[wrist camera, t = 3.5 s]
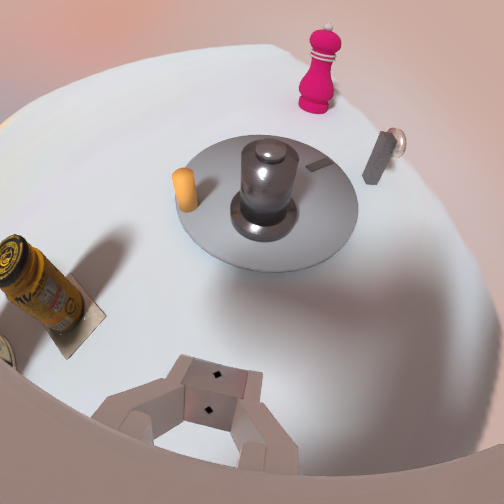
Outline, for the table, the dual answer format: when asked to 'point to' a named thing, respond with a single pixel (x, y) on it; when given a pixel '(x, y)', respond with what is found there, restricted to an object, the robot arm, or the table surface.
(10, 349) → the coffee can
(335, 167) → the turntable
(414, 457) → the table surface
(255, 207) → the urn
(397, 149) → the grey bar with dome
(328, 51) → the pepper mill
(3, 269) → the condiment
